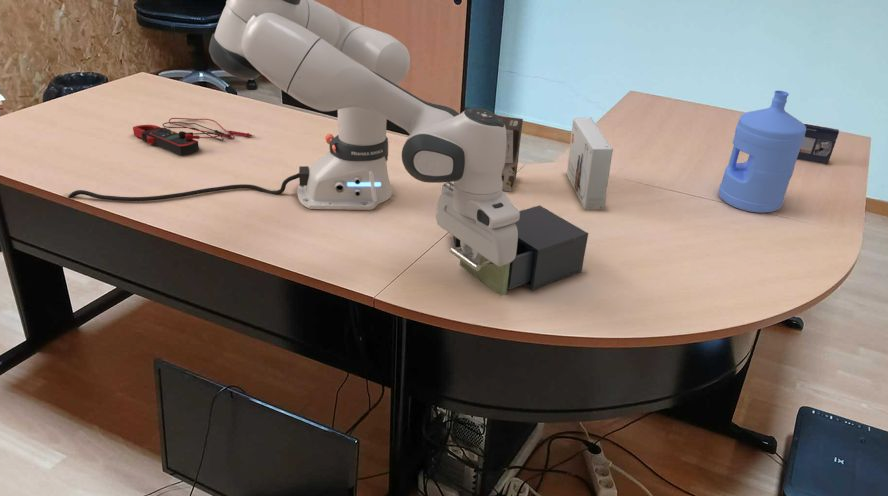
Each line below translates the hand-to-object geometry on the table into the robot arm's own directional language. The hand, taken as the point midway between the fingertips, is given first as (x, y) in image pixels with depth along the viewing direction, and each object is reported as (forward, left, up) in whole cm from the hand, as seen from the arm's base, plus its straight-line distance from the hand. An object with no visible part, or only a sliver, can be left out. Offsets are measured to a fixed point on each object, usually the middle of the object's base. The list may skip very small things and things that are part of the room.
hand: (471, 264), depth 141 cm
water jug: (+83, +26, -6) cm, 88 cm away
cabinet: (+16, +6, -5) cm, 18 cm away
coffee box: (+23, +46, -6) cm, 52 cm away
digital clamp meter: (-52, +88, -6) cm, 102 cm away
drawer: (+6, +2, -5) cm, 8 cm away
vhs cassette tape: (+116, +50, -6) cm, 127 cm away
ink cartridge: (+3, +18, -6) cm, 19 cm away
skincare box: (+42, +38, -6) cm, 57 cm away
